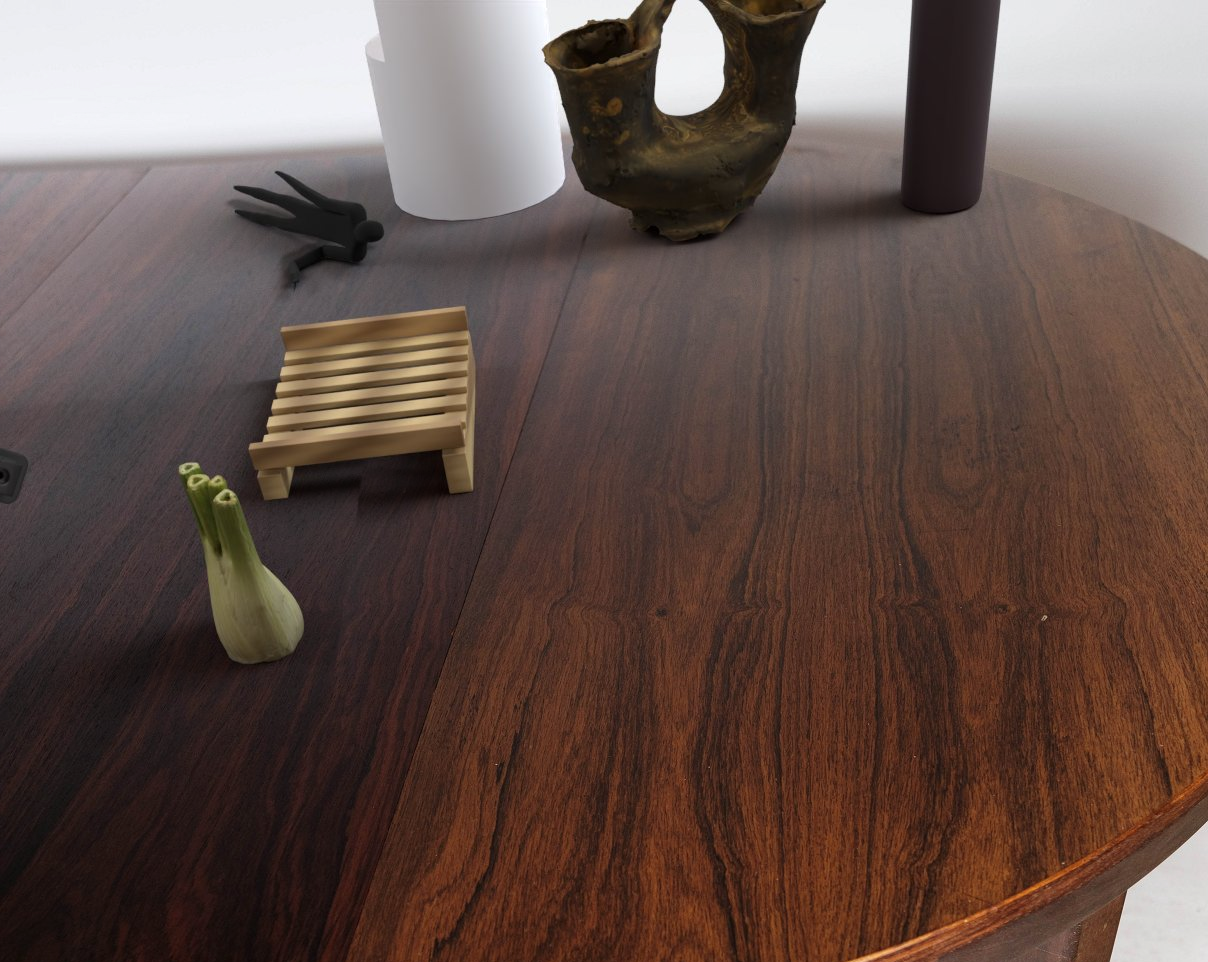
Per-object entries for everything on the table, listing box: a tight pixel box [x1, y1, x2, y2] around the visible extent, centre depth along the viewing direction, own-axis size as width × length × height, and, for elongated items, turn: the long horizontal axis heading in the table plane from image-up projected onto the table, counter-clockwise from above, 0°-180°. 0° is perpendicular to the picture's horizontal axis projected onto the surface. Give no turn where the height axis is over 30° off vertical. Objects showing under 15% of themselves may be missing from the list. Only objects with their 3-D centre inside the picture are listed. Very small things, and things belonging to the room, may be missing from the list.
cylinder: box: [364, 0, 566, 222], centre depth 121 cm, size 17×17×28 cm
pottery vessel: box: [542, 0, 827, 242], centre depth 112 cm, size 25×11×20 cm, turn 112°
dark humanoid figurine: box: [232, 170, 385, 293], centre depth 120 cm, size 8×9×25 cm
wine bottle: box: [900, 0, 1002, 214], centre depth 107 cm, size 7×7×30 cm
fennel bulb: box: [178, 462, 305, 665], centre depth 73 cm, size 6×5×12 cm
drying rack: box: [248, 305, 477, 501], centre depth 93 cm, size 14×18×5 cm
